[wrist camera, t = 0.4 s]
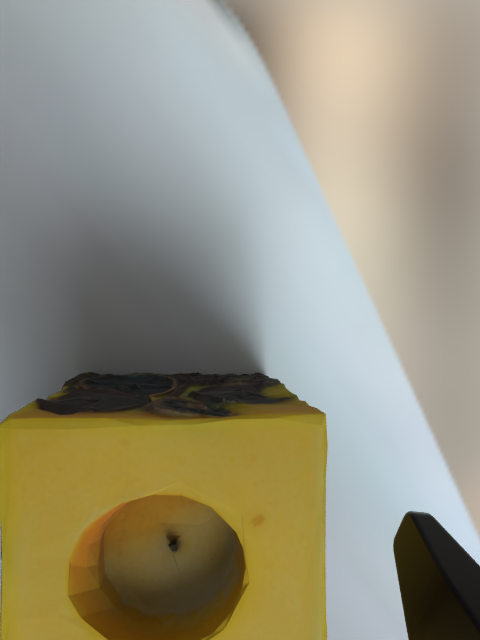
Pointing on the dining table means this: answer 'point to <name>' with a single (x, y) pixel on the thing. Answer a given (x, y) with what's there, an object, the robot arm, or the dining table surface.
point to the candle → (164, 511)
